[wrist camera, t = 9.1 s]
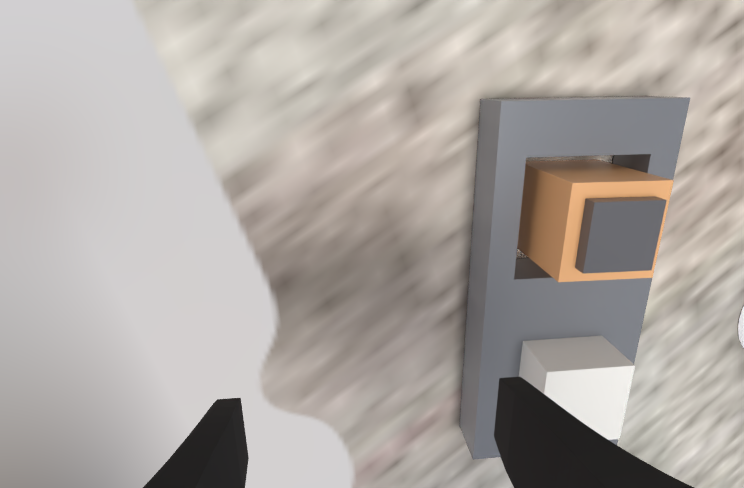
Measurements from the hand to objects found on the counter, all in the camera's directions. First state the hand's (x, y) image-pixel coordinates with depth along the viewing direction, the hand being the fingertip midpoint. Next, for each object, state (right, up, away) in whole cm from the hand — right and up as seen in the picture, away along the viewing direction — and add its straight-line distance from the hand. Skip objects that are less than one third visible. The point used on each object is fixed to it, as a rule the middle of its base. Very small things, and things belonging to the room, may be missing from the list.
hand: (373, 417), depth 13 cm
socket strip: (+9, +2, +11) cm, 15 cm away
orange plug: (+9, +7, +10) cm, 15 cm away
